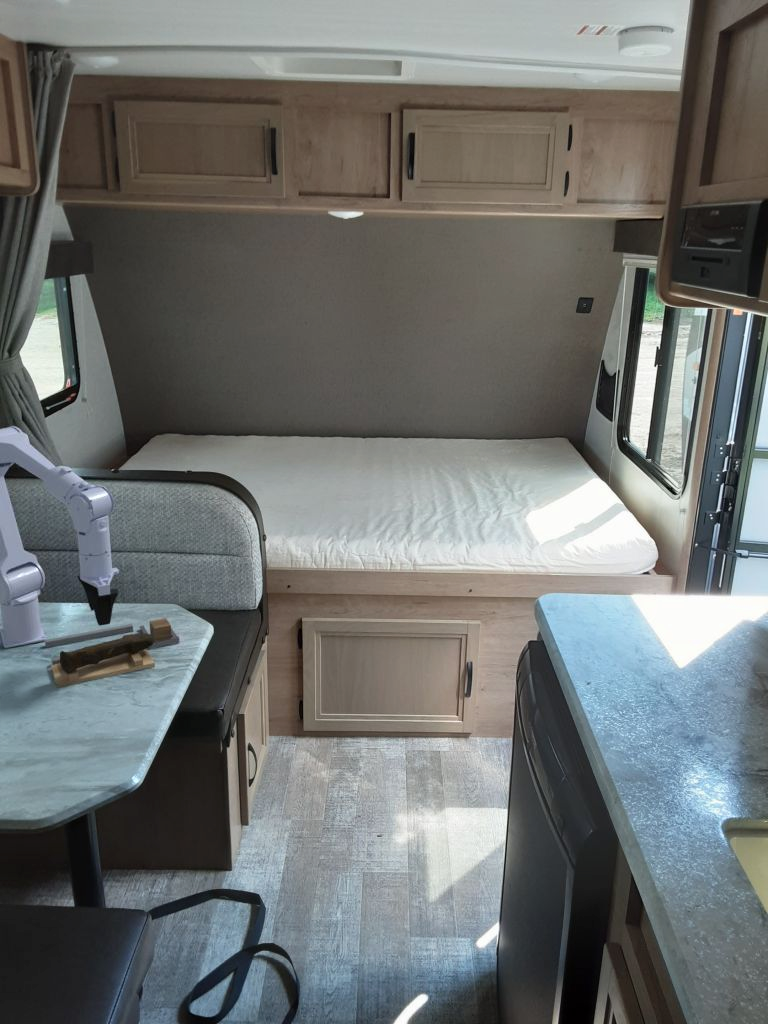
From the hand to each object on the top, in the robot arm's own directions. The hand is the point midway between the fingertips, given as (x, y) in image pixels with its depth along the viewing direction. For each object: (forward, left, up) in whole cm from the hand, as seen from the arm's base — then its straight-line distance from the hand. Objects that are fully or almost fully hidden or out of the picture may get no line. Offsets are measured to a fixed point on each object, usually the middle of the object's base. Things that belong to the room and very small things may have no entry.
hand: (100, 616), depth 156 cm
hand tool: (0, 0, -6) cm, 6 cm away
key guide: (-7, +13, -10) cm, 18 cm away
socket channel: (-8, 0, -10) cm, 12 cm away
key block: (-5, +13, -10) cm, 17 cm away
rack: (+2, -1, -10) cm, 10 cm away
